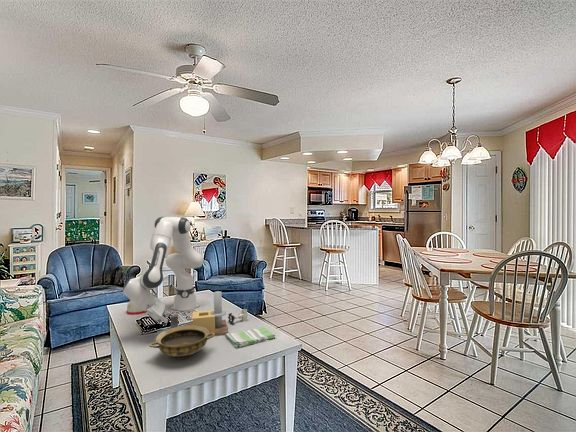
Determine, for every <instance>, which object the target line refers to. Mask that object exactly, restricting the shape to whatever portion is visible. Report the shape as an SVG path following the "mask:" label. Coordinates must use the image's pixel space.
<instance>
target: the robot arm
mask: <svg viewBox="0 0 576 432" xmlns="http://www.w3.org/2000/svg"><path fill="white" fill-rule="evenodd" d="M190 228H191V223H190V220H189V219H188V218H186V217H183V216H182V217H179V216H160V217H157V219H156V220H155V221H154V230H153V233H152V235H151V238H150V242H149V243H150V244H149V249H151V250H152V258H151V262H150V265H149V267H148V269H147V270H146V271H145V273H144V274H141V275H140V276H137V277H134V278H129V279H128V280H127V281H126V283H124V286H123V287H122V293H123V294H124V295H125V296H126V297H127V298H128V299H129V301H130V300H132V301H133V302H135V303H136V304H137V305H138V306H139V307H140V308H141V309H143V310H144V311H146V310H147V312H146V313H147V315H148V316H149V317H151V318H152V319H153V320H154V321H155V322H158V321H159V320H160V321H161V322H163V323H164V324H167V323H168V321H169V319H168V317H169V316H170V314H171V313H169V311H168V310H167V309H166V304H165V303H164V302H163V301H162V300H161V299H160V298H159V297H158V295H156V294H152V293H151V290H153V289H155V288H157V287H160V285H161V284H162V283H163V281H164V274H163V267H164V266H163V265H164V262H165V265H166V266H167V268H169V269H170V270H171V271H172V272H173V274H174V275H175V280H176V289H175V293H176V294H175V296H174V297H173V305H172V306H171V308H170V309H171V310H175V311H181V312H182V311H183V312H185V311H190V310H194V309H196V308H199V307H200V304H199V303H198V302H197V294H196V293H195V287H194V277H193V275H192V274H190V273H189V272H187V271H186V270H187V269H188V270H190V269H192V270H193V269H198V268H201V267H202V266H203V264H204V257H203V255H202V254H201V253H199V252H198V251H196V250H195V249H194V247H193V245H192V243H191V239H190V233H189V231H190ZM171 242H172V243H173V248H174V249H175V250H176V251H177V252H175V253H174V252H173V253H170V254H168V255H167V256H166V254H167V252H168V250H169V248H170V245H171Z"/></svg>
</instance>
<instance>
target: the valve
mask: <svg viewBox="0 0 576 432" xmlns="http://www.w3.org/2000/svg"><path fill="white" fill-rule="evenodd" d="M248 315H249V314H248V309H247V308H243V309H241V313H238V315H235V316H234V314H233V313H232V312H230V313H228V316H227V319H228V322H229V325H232V324H235V323H234V321H235V319H236V320H237V319H240V320H241V322H246V321H248Z"/></svg>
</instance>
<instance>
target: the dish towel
mask: <svg viewBox="0 0 576 432" xmlns="http://www.w3.org/2000/svg"><path fill="white" fill-rule="evenodd" d="M224 338H225V339H226V340H227V342H229V343H230V344H231V345H232V346H233V347H234V348H235V349H238V347H239V348H243V347H247V345H248V346H251V344H252V345H255V344H254V343H256V344H259V343H258V342H260V343H264V342H263V341H265V342H267V341H266V340H269V341H271V340H275V339H276V334H275V333H272V332H270V331H268V329H267V328H266V327H264V326H262V327H257V328H252V329H248V330H244V331H238V332H234V333H233V332H232V333H230V332H228V333H227V334H225V335H224ZM242 346H243V347H242Z"/></svg>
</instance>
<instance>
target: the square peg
mask: <svg viewBox="0 0 576 432" xmlns="http://www.w3.org/2000/svg"><path fill="white" fill-rule="evenodd" d="M175 327H179V314H172V315H171V316H170V329H172V328H175Z"/></svg>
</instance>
